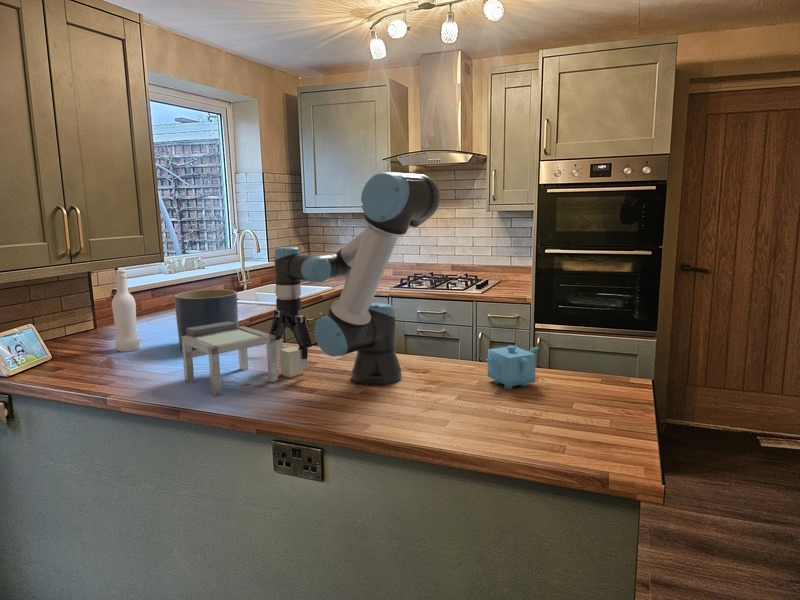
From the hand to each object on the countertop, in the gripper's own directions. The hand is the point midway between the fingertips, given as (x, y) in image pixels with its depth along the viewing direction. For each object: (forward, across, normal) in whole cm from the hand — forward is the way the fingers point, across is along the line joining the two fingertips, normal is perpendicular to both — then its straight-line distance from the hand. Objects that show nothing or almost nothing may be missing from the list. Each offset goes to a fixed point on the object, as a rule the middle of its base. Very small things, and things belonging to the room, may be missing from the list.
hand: (290, 364), depth 174 cm
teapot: (+2, -56, -40) cm, 69 cm away
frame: (+3, +6, +17) cm, 18 cm away
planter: (+4, +54, +2) cm, 54 cm away
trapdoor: (-7, +10, +17) cm, 21 cm away
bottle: (+5, +70, +26) cm, 75 cm away
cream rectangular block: (+3, 0, 0) cm, 3 cm away
